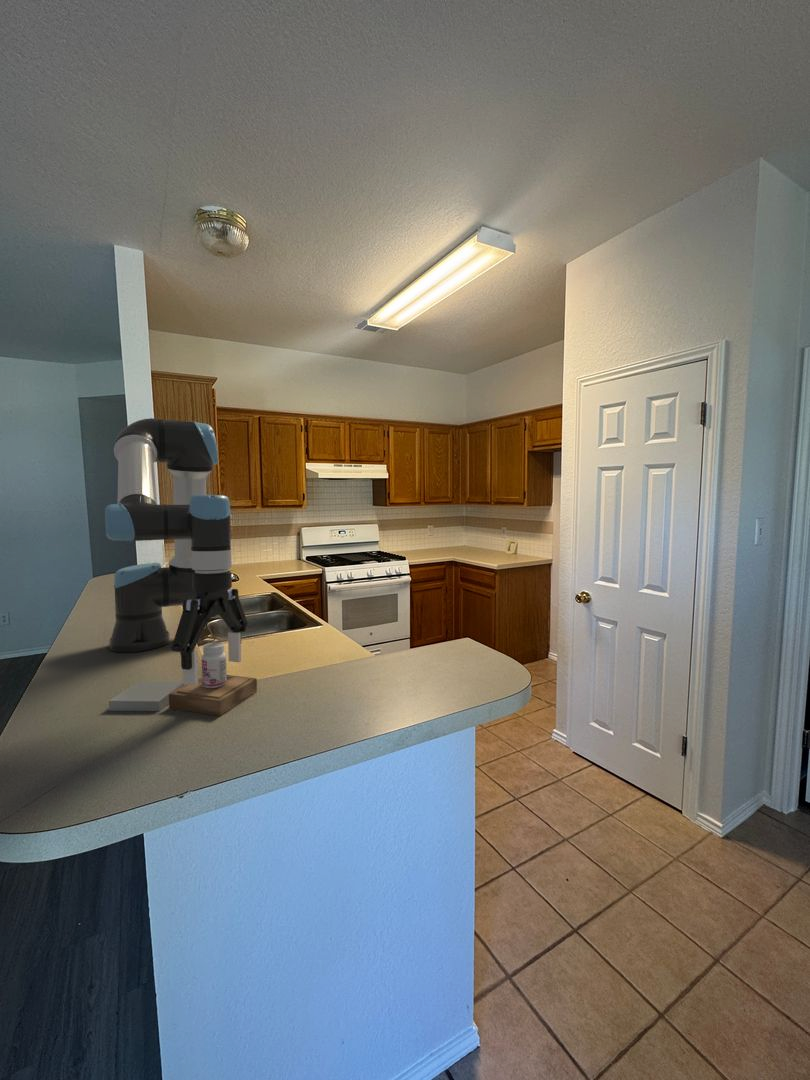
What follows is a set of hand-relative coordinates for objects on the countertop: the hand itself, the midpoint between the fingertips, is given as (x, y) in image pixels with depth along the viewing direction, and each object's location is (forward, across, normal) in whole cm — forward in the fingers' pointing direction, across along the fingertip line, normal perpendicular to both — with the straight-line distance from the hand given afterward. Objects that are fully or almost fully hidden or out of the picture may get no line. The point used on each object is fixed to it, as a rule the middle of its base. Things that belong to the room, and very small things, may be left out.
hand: (214, 672), depth 94 cm
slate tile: (+6, +4, -13) cm, 15 cm away
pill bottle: (+3, 0, 0) cm, 3 cm away
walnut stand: (+6, 0, 0) cm, 6 cm away
